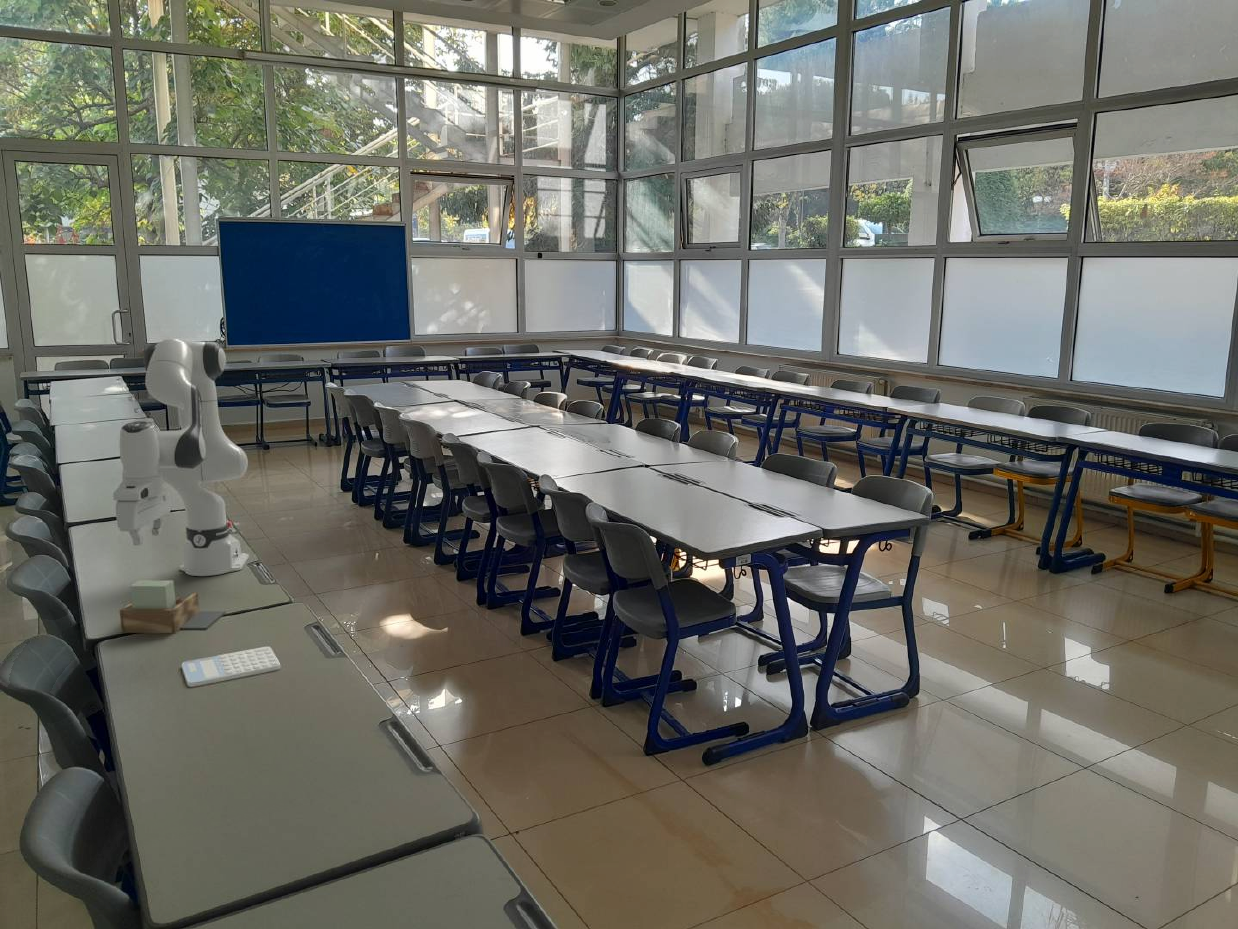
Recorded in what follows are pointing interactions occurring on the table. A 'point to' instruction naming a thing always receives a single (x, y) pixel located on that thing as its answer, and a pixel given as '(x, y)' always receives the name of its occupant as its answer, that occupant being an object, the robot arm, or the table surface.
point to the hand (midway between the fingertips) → (147, 539)
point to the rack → (158, 617)
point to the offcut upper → (178, 600)
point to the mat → (203, 620)
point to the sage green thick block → (153, 594)
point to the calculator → (229, 666)
